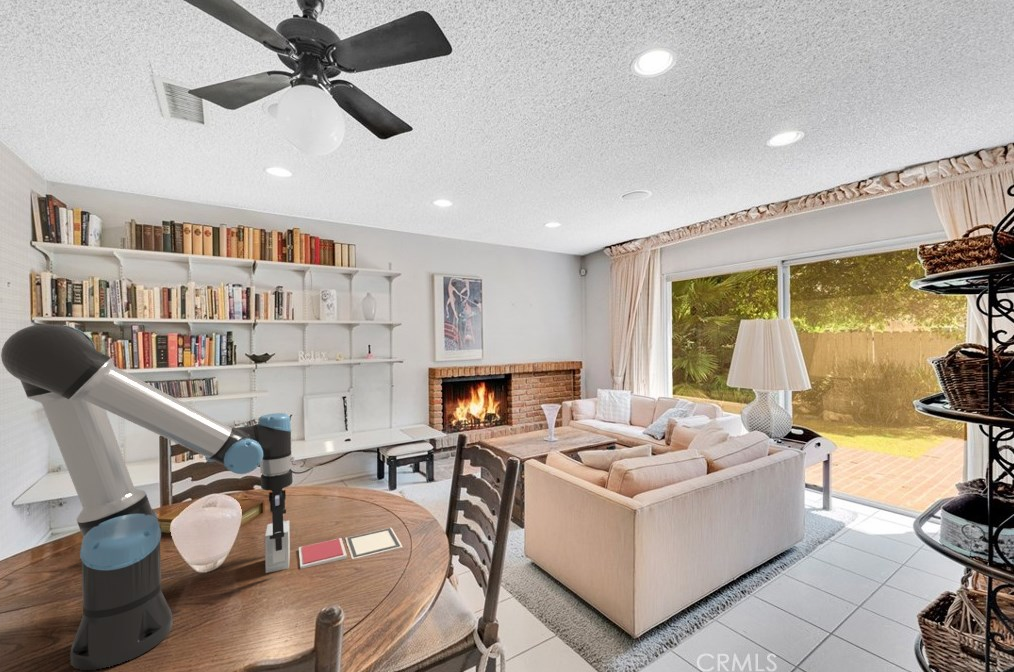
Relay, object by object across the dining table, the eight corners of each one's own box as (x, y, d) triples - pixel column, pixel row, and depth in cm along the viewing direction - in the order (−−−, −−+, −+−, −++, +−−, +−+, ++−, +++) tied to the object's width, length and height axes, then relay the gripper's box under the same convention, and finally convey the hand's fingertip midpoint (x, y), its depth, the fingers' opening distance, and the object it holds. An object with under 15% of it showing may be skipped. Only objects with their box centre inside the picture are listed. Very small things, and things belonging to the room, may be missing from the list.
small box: (267, 561, 118) (266, 523, 118) (290, 556, 121) (289, 519, 121) (264, 576, 111) (264, 536, 111) (289, 571, 113) (288, 531, 113)
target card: (402, 547, 125) (402, 545, 125) (352, 560, 118) (352, 558, 118) (391, 528, 137) (391, 526, 137) (345, 539, 130) (345, 537, 130)
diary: (265, 515, 149) (264, 498, 149) (220, 541, 131) (220, 522, 131) (208, 511, 153) (207, 495, 153) (157, 535, 135) (156, 517, 135)
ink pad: (346, 559, 119) (346, 554, 119) (300, 571, 113) (300, 565, 113) (341, 541, 129) (341, 536, 129) (298, 551, 123) (298, 546, 123)
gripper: (293, 483, 106) (296, 567, 107) (291, 457, 128) (293, 527, 129) (258, 489, 103) (261, 576, 103) (262, 461, 125) (264, 533, 125)
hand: (279, 549), depth 116 cm, fingers open, 13 cm apart
